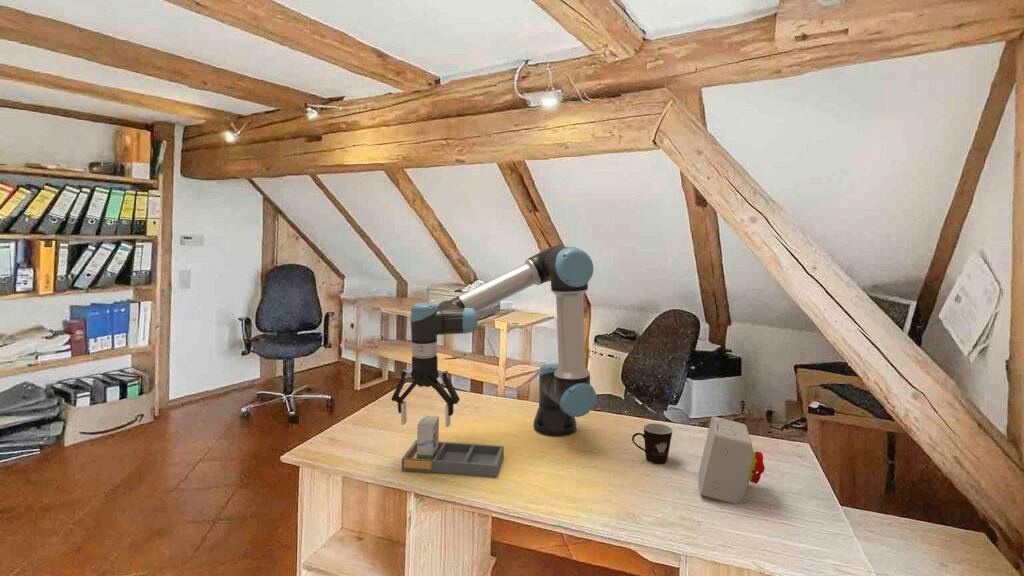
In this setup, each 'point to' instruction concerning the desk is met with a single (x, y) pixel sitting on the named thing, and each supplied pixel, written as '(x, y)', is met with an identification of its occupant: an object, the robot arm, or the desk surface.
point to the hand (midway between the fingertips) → (425, 424)
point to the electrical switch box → (728, 461)
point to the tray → (457, 459)
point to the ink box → (427, 437)
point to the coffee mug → (656, 442)
